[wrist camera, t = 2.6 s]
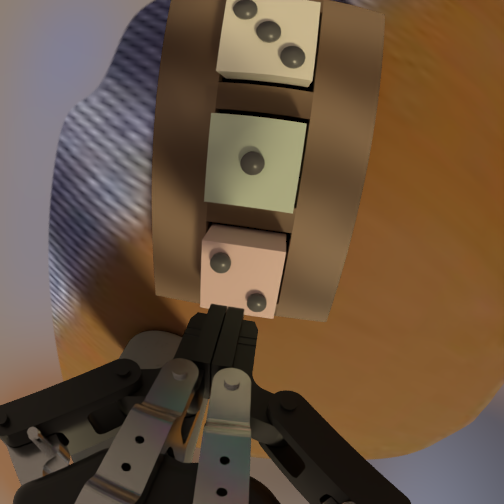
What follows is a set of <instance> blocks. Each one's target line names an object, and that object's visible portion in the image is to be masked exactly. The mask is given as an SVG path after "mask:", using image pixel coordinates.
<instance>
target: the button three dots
mask: <svg viewBox="0 0 504 504" xmlns="http://www.w3.org/2000/svg"><path fill="white" fill-rule="evenodd" d="M320 5H321V3H320V2H315V1H309V0H227V1H226V6H225V12H224V19H223V25H222V32H221V38H220V45H219V52H218V60H217V67H216V71H217V72H218V73H219V74H221V75H222V76H224V77H225V78H226V79H242V80H254V81H264V82H273V83H281V84H289V85H296V86H302V87H309V85H310V84H311V82H312V80H313V72H314V63H315V55H316V46H317V36H318V26H319V16H320Z"/></svg>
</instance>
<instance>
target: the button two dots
mask: <svg viewBox="0 0 504 504" xmlns="http://www.w3.org/2000/svg"><path fill="white" fill-rule="evenodd" d="M285 255H286V234H282V233H276V232H269V231H262V230H255V229H248V228H241V227H234V226H227V225H219V224H212V226H211V227H210V229H209V230H208V232H207V233H206V235H205V236H204V238H203V239H202V255H201V290H200V307H202V308H208V309H209V308H210V305H211V304H218V305H224V306H227V307H228V306H230V307H236V308H243V309H244V315H250V316H257V317H264V318H271V319H273V318H274V313H275V308H276V303H277V298H278V293H279V287H280V282H281V277H282V272H283V266H284V261H285Z"/></svg>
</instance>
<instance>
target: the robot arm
mask: <svg viewBox="0 0 504 504" xmlns="http://www.w3.org/2000/svg"><path fill="white" fill-rule="evenodd" d="M243 318H244V309H243V308H236V307H230V306H228V307H227V306H224V305H218V304H211V305H210V308H209V310H208V313H207V314H204V313H199V312H198V313H197V314H196V315H194V316H193V317H192V318H191V319H190V321H189V323H188V326H187V328H186V330H185V333H184V335H183V337H182V340H181V342H180V344H179V347H178V349H177V351H176V354H175V356H174V358H173V359H172V360H170V361H168V362H166V363H165V364H164V366H163V367H162V368H157V369H140V366H139V365H138V364H137V363H136V362H135V361H133V360H131V359H125V358H123V359H117V360H115V361H112V362H110V363H108V364H105V365H103V366H100V367H98V368H96V369H93V370H91V371H89V372H86V373H84V374H81V375H79V376H76V377H74V378H71V379H69V380H66V381H64V382H62V383H59V384H56V385H54V386H51V387H49V388H47V389H44V390H41V391H38V392H36V393H33V394H31V395H28V396H25V397H23V398H20V399H17V400H14V401H12V402H9V403H6V404H3V405H0V439H1V440H2V441H3V442H4V443H5V445H6V446H7V448H8V451H9V454H10V457H11V460H12V463H13V465H14V468H15V471H16V473H17V476H18V478H19V481H20V483H21V485H22V486H21V487H20V488H19V489H18V491H17V492H16V494H15V496H14V500H13V504H280V503H279V501H278V500H277V499H276V497H275V496H274V495H273V493H272V492H271V491H270V490H269V489H268V488H267V487H266V486H265V485H263V484H262V483H261V482H259V481H258V480H256V479H255V478H253V477H250V451H251V438H253V439H255V440H257V441H258V442H259V444H260V446H261V447H262V448H263V449H264V451H265V452H266V453H267V454H268V456H269V457H270V458H271V459H272V461H273V462H274V463H275V464H276V465H277V467H278V468H279V469H280V470H281V471H282V473H283V474H284V475H285V476H286V477H287V478H288V480H289V481H290V482H291V483H292V484H293V485H294V487H295V488H296V489H297V490H298V491H299V492H300V493H301V494H302V495H303V496H304V498H305V499H306V500H307V501H308V502H309V503H310V504H411V502H410V500H409V499H408V498H407V497H406V496H405V495H404V494H403V493H402V492H401V491H399V490H398V489H397V488H396V487H395V486H394V485H393V484H392V483H390V482H389V481H388V480H387V479H386V478H385V477H384V476H383V475H381V474H380V473H379V472H378V471H377V470H376V469H375V468H374V467H373V466H372V465H371V464H370V463H368V462H367V461H366V460H365V459H364V458H363V457H362V456H361V455H360V454H359V453H358V452H357V451H356V450H355V449H354V448H353V447H352V446H351V445H350V444H349V443H348V442H347V441H346V440H345V439H344V438H343V437H341V436H340V435H339V434H338V433H337V432H336V431H335V430H334V429H333V428H332V427H331V426H330V425H329V423H328V422H327V421H326V420H325V419H324V418H323V417H322V416H321V415H320V414H319V413H318V412H317V411H316V410H315V409H314V408H313V407H312V406H311V405H310V404H309V403H308V402H307V401H306V400H305V399H304V398H303V397H302V396H301V395H300V394H298V393H296V392H293V391H280V392H277V393H275V394H273V393H271V392H268V391H266V390H264V389H262V388H260V387H259V386H258V385H257V384H256V383H255V381H254V379H253V376H252V371H253V364H254V356H255V349H256V341H257V334H258V329H257V327H256V324H255V322H253V321H247V320H243ZM203 398H206V399H210V401H209V408H208V414H207V420H206V423H205V425H204V431H203V437H202V444H201V451H200V457H199V463H184V459H185V452H186V448H187V445H188V442H189V440H190V437H191V434H192V432H193V429H194V427H195V424H196V421H197V419H198V416H199V413H200V408H201V404H202V401H203ZM115 435H116V437H115V439H114V441H113V442H112V444H111V446H110V447H109V448H106V449H103V450H100V451H98V452H96V453H94V454H92V455H90V456H88V457H86V458H84V459H81V460H79V461H77V462H75V463H73V464H71V465H69V461H70V456H71V455H73V454H75V453H78V452H80V451H83V450H85V449H87V448H89V447H92V446H94V445H96V444H98V443H101V442H103V441H105V440H107V439H109V438H111V437H113V436H115Z"/></svg>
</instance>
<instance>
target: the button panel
mask: <svg viewBox="0 0 504 504" xmlns="http://www.w3.org/2000/svg"><path fill="white" fill-rule="evenodd" d="M226 1H227V0H171V3H170V8H169V13H168V19H167V24H166V30H165V35H164V42H163V48H162V55H161V62H160V70H159V78H158V87H157V97H156V108H155V121H154V136H153V157H152V240H153V261H154V278H155V291H156V295H158V296H163V297H168V298H173V299H178V300H183V301H188V302H194V303H199V304H200V290H201V255H202V239H203V238H204V236H205V235H206V233H207V232H208V230H209V229H210V222H217V223H224V224H231V225H239V226H246V227H253V228H260V229H267V230H273V231H280V232H287V233H290V239H289V245H288V250H287V256H286V261H285V266H284V272H283V276H282V277H281V282H280V287H279V293H278V298H277V303H276V308H275V313H274V316H281V317H288V318H296V319H304V320H312V321H321V322H326V321H327V318H328V315H329V312H330V309H331V306H332V303H333V300H334V297H335V293H336V290H337V287H338V283H339V280H340V277H341V273H342V270H343V266H344V263H345V259H346V255H347V252H348V248H349V244H350V241H351V237H352V233H353V229H354V225H355V221H356V216H357V212H358V208H359V204H360V199H361V195H362V190H363V185H364V181H365V176H366V171H367V165H368V160H369V155H370V149H371V143H372V138H373V131H374V125H375V118H376V111H377V104H378V96H379V88H380V79H381V69H382V57H383V44H384V25H385V15H384V14H381V13H378V12H375V11H371V10H368V9H364V8H361V7H357V6H353V5H349V4H345V3H340V2H336V1H331V0H309V1H315V2H320V3H321V5H320V16H319V26H318V31H319V38H318V47H317V56H316V65H315V73H314V81H313V89H312V92H308V91H302V90H295V89H288V88H281V87H273V86H264V85H254V84H242V83H227V82H223V76H222V75H221V74H219V73H218V72H217V71H216V67H217V60H218V52H219V45H220V38H221V32H222V25H223V19H224V12H225V6H226ZM219 109H225V110H238V111H249V112H258V113H267V114H275V115H282V116H289V117H296V118H302V119H308V127H307V134H306V141H305V148H304V154H303V161H302V167H301V174H300V180H299V186H298V192H297V198H296V204H294V210H293V214H292V213H286V212H279V211H272V210H265V209H258V208H251V207H244V206H236V205H229V204H221V203H213V202H204V194H205V179H206V166H207V153H208V142H209V131H210V120H211V113H219Z"/></svg>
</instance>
